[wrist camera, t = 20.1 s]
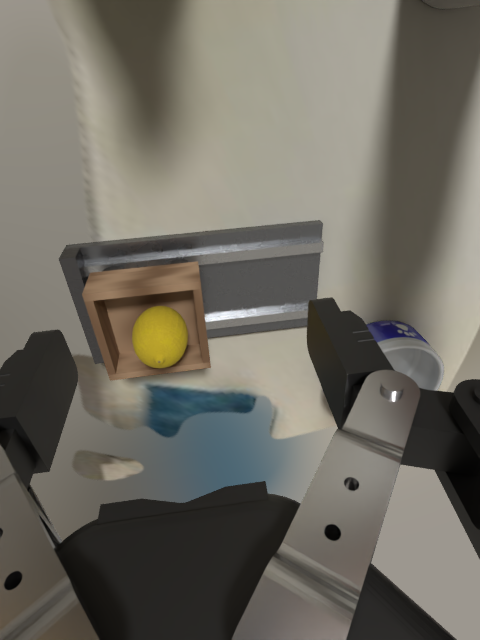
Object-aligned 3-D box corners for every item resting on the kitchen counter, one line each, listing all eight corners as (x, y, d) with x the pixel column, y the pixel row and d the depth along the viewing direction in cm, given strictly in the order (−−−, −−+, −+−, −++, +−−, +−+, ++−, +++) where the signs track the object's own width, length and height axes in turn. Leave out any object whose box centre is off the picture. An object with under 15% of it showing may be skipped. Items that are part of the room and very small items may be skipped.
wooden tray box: (197, 253, 42) (200, 281, 37) (206, 333, 49) (210, 367, 44) (93, 263, 41) (81, 294, 36) (116, 344, 48) (110, 380, 43)
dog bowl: (435, 315, 55) (461, 341, 50) (406, 392, 64) (426, 421, 59) (332, 322, 53) (348, 349, 49) (317, 400, 62) (329, 431, 57)
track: (320, 220, 44) (329, 231, 42) (312, 320, 52) (320, 335, 50) (66, 245, 42) (58, 259, 39) (99, 346, 50) (95, 363, 47)
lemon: (125, 303, 41) (116, 351, 35) (173, 284, 41) (173, 329, 34) (150, 340, 45) (146, 390, 38) (194, 323, 44) (198, 371, 38)
